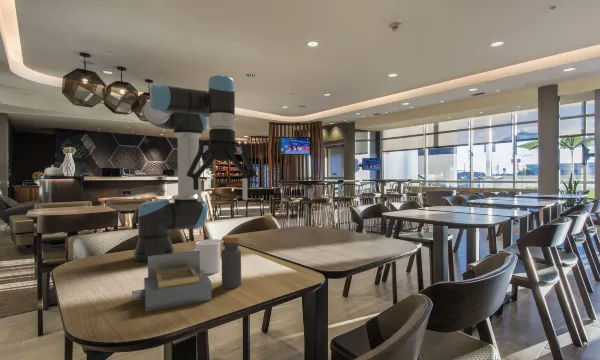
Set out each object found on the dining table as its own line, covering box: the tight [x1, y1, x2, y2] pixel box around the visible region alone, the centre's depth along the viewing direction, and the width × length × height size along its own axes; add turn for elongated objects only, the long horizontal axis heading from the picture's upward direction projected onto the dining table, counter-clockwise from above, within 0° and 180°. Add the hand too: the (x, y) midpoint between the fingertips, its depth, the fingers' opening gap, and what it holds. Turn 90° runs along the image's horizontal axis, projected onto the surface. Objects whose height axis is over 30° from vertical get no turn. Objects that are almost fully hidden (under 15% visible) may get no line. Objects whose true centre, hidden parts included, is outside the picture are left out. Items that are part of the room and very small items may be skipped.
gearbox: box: [131, 250, 212, 313], centre depth 87 cm, size 12×19×11 cm, turn 117°
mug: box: [193, 239, 221, 276], centre depth 111 cm, size 12×8×10 cm
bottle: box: [221, 234, 242, 289], centre depth 98 cm, size 6×6×15 cm
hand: (222, 200), depth 96 cm, fingers open, 13 cm apart
